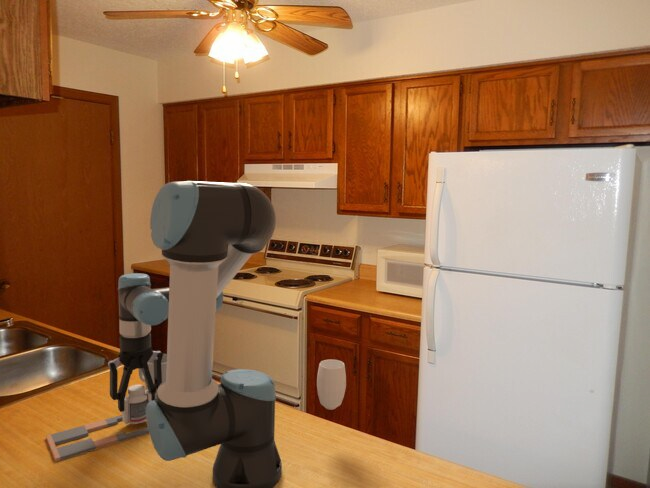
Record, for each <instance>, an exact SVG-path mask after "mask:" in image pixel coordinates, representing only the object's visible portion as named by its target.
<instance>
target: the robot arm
mask: <svg viewBox="0 0 650 488" xmlns="http://www.w3.org/2000/svg"><path fill="white" fill-rule="evenodd" d="M149 220H150V222H149V223H150V224H149V227H150V228H149V229H150V230H151V233H150V237H151V240H152V242H153V245H154V247H156V248H158V249H159V250H160V249H161V256H162V258H163V259H164V260H165V261H166V262H167V263H168V264H169V287H160V288H158V287H157V288H151V286H152V283H151V278H150V276H149V275H148V274H146V273H140V272H139V273H138V272H134V273H126V274H123V275H120V277H119V278H118V283H117V284H118V287H117V291H118V317H119V318H118V319H119V334H120V335H119V354H118V356H117V358H114V359H113V360H112V359H108V361H107V366H108V369H109V396H110V398H111V399H112V400H113V401H117V410H118V411H119V412H120V413H121V415H122V420H121V421H122V423H124V425H128V424H130V423H129V422H128V399H127V397H126V395H127V392H128V388H129V384H130V380H131V375H132V374H133V371H134V370H137V369H139V368H141V369H142V372H143V375H144V378H145V381H146V384H147V387H148V389H149V391H148V390H146V391H145V392H144V393H145V394H147V398H148V404H147V406H146V421H145V422H146V424H147V425H146V426H147V427H148V430H149V433H148V434H149V436H150V439H151V442H152V445H153V447H154V450H155V451H156V454H157V455H158V456H159V458H161V459H162V460H163V461H165V462H166V461H167V462H170V461H173V460H174V461H175V460H178V459H181V458H184V459H186V458H187V457H188V456H189V455H192V454H196V453H199V452H201V451H205V450H209V449H211V448H213V447H216V446H219V447H218V451H217V453H216V456H215V460H214V462H213V466H212V483H213V485H214V486H215V487H216V488H274V487H275V486H276V485H277V484H278V483H279V481H280V480H281V477H282V474H283V473H282V471H283V470H282V469H283V468H282V466H283V465H282V460H281V456H280V453H279V451H278V447H277V444H276V441H275V427H276V426H275V424H276V418H275V417H276V415H275V414H276V400H277V396H276V394H277V393H276V385H275V381H274V379H273V378H272V377H271V376H270V375H268V374H266V373H265V372H263V371H259V370H254V369H248V368H247V369H246V368H236V369H231V370H227V371H225V372H224V373H223V374H222V375H221V376H220V379H219V381H220V383H219V384H218V382H217V381H216V380H215V379H214V378H213V361H214V347H215V346H214V344H215V329H216V311H218V310H220V309H221V308H222V305H223V302H224V293H223V291H224V290H225V289H226V288H227V286H228V285H229V284H230V283H231V281H232V280H233V279H234V278H235V277H236V276H237V274H238V273H239V271H240V270H241V269H242V268H243V266H244V265H245V264H246V263H247V262H248V260H249V259H250V258H251V257H252V255H255V254H258V253H260V252H262V251H263V249H264V248H265V247H266V246H267V245H268V243H269V242H270V241H271V239H272V237H273V234H274V233H275V229H276V224H277V221H276V220H277V218H276V210H275V208H274V206H273V204H272V201H271V200H270V198H269V197H268V196H267V195H266V193H265V192H263V191H262V190H261V189H259V187H256V186H254V185H251V184H249V183H243V182H219V181H218V182H217V181H199V180H198V181H196V180H186V181H185V180H184V181H181V180H180V181H171V182H167V183H165V184H164V185H162V187H160V189H159V190H158V192H157V194H156V196H155V198H154V199H153V202H152V207H151V212H150V219H149ZM166 320H167V343H166V345H167V346H166V348H167V349H166V354H167V368H166V380H165V381H164V382H162V371H161V360H162V357H163V354H164V353H163V352H161V350H153V349H152V333H151V330H152V326H157V325H160V324H162V323H164V321H166ZM151 356H152V358H153V359H154V383H153V380H152V377H151V374H150V371H149V367H148V364H147V363H148V361H149V360H150V358H151ZM120 363H121V364H122V365H123V368H122V370H123V371H122V375H121V379H120V384H119V386H118V383H119V382H118V378H119V377H118V368H119V365H120ZM157 389H158V391H157V400H155V393H156V390H157Z"/></svg>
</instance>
